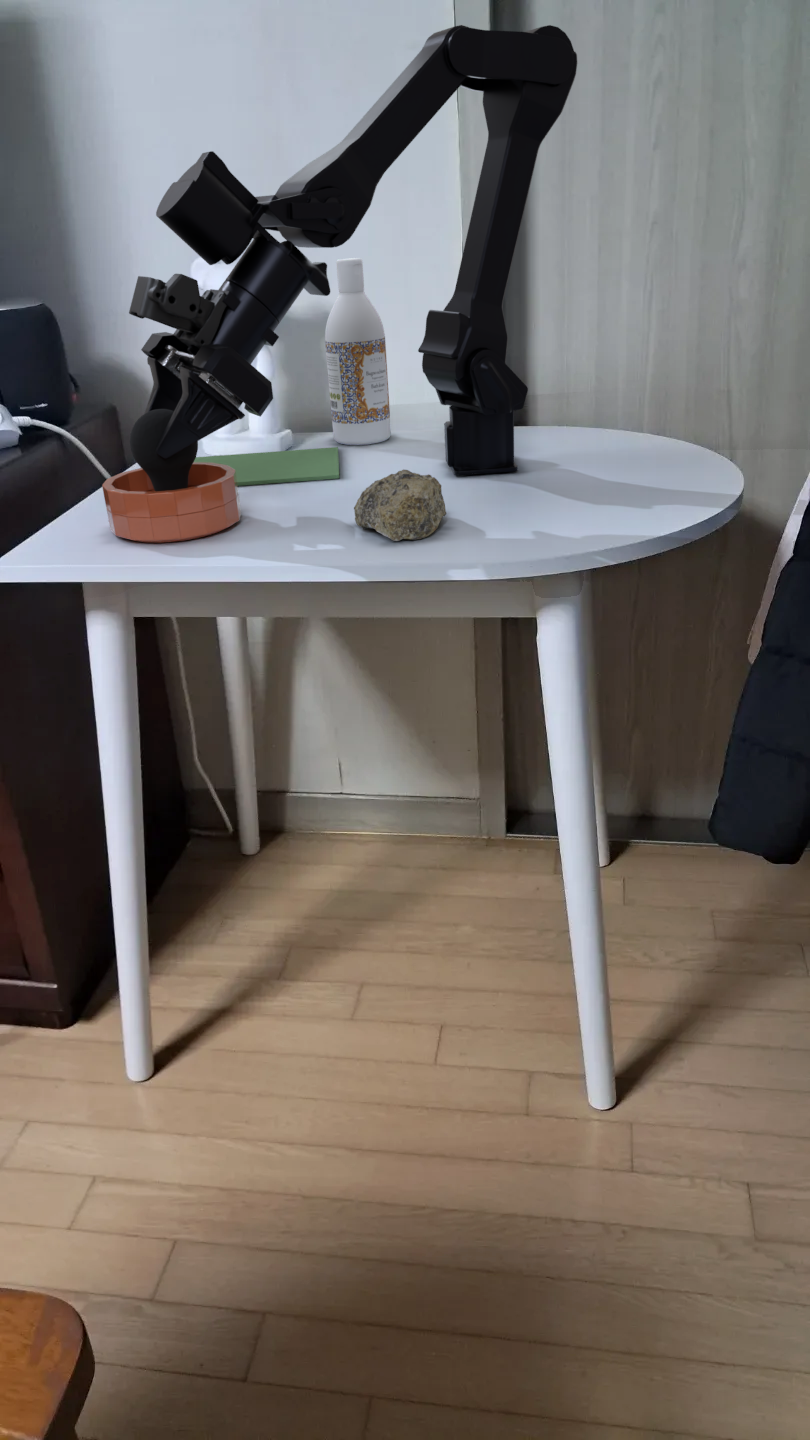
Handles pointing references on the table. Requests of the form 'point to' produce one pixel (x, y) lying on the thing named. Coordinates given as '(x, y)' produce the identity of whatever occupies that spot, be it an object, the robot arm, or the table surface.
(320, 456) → the mat
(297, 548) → the table surface
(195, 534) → the pot
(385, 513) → the rock
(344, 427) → the bath foam
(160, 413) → the light bulb
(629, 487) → the table surface
